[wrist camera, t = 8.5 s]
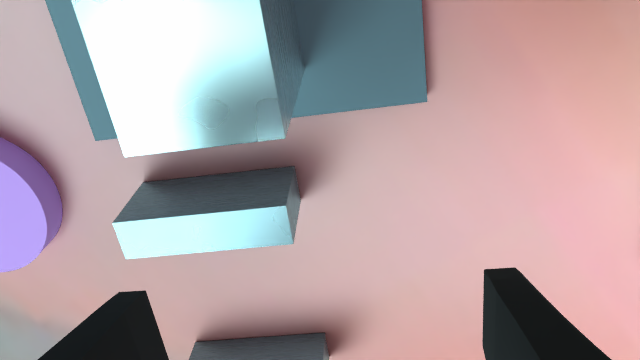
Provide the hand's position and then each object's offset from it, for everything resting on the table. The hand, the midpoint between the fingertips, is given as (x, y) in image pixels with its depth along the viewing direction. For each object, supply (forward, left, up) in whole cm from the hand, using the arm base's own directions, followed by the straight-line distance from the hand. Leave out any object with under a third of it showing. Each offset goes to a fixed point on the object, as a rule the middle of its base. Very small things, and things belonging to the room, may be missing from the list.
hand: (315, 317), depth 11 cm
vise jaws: (+5, +8, -9) cm, 13 cm away
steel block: (+2, -6, -9) cm, 11 cm away
